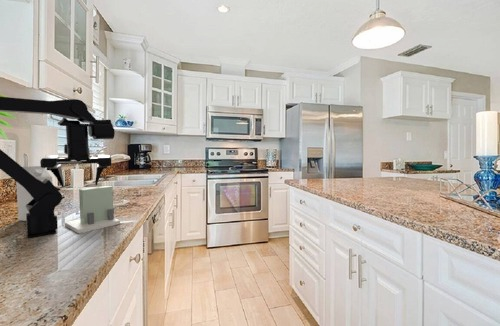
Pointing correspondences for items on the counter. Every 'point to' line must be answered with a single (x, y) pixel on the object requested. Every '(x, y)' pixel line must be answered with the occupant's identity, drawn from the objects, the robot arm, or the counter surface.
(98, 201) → the grey upright panel
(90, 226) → the cabinet base
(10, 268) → the counter surface
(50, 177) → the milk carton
